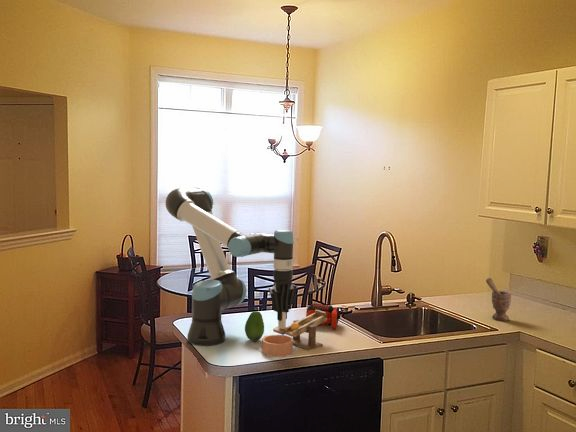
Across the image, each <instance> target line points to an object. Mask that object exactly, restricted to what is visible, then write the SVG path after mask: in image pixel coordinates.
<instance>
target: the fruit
mask: <svg viewBox="0 0 576 432" xmlns="http://www.w3.org/2000/svg"><path fill="white" fill-rule="evenodd" d="M244 331H245V335H246V338H247V339H249V341H252V342H257V341H259V340H261V339H262V337H263V335H264V332H265V323H264V319H263V315H262V314H261V312H260V311H257V310H255V311H251V313H250V314H249V316H248V318H247V319H246V322H245V325H244Z"/></svg>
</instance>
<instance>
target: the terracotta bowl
mask: <svg viewBox="0 0 576 432" xmlns="http://www.w3.org/2000/svg"><path fill="white" fill-rule="evenodd" d="M262 337H263V338H262ZM262 337H261V352H262V354H264V355H266V356H271V357H286V356H289V355H292V353H293V352H294V345H293V339H292V338H293V337H292V336H289V335H286V334H284V335H282V334H269V335H266V336H262Z"/></svg>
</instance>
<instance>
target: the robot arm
mask: <svg viewBox="0 0 576 432" xmlns="http://www.w3.org/2000/svg"><path fill="white" fill-rule="evenodd" d="M164 204H165V208H166V211H167V212H168V213H169V214H170V216H172V217H173V218H175V219H176V220H178V221H180V222H185V223H187V224H189V225H191V226H192V229H193V232H194V235H195V238H196V240H197V242H198V246H199V248H200V251H201V254H202V256H203V260H204V262H205V264H206V268H207V271H208V273H209V275H210V278H209V279H206V280H200V281H198V282H196V283H194V285H193V286H192V293H191V323H190V325H189V326H190V327H189V329H188V333H187V339H186V341H187V342H188V343H189V344H192V345H195V346H215V345H219V344H222V343H224V342H225V340H226V331H225V328H224V326H223V322H222V311H224V310H227V309H230V308H234V307H236V306H237V305H241V303H243V301H244V300H245V298H246V296H247V286H246V283H245V282H244V281H243V279H241V278H240V277H237V275H236V272H235V271H234V270H232V269H230V266H229V264H228V261H227V258H226V256H225V252H224V250H223V248H222V245H223V246H225V247H226V248H228V249H227V250H228V251H229V253H230V255H231V256H233V257H236V258H243V257H246V256H252V255H257V254H261V253H264V254H265V253H267V254H273V276H272V277H273V280H274V282H273V286H271V287H268V292H269V294H270V299H271V303H272V305H271V306H272V310H273V311H274V312H275V313H277V314H276V315H277V321H278V323H277V327H278V328H281V329H284V328H286V326H287V319H288V313H289V312H290V310H292V305H293V303H294V302H293V301H294V295H295V291H296V289H297V284H296V285H295V284H293V281H292V279H293V276H294V275H293V274H294V273H293V266H294V264H293V263H294V242H295V241H294V233H293V231H292V230H289V229H276V230H274V232H273V234H271V233H261V232H251V233H249V235H245V234H244V233H242V232H241V231H239V230H237V229H235V228H234V227H232V226H230V225H229V224H227V223H225V222H224V221H222V220H221V219H219V218H217V217H216V216H213V211H212V210H213V208H214V207H213V205H214V198H213V196H212V195H211V193H210V192H209V191H208V190H206V189H204V188H199V187H191V188H189V187H187V188H186V187H185V188H182V187H181V188H180V187H179V188H175V189H173V190H171V191H170V192H169V193H168V194H167V196H166V198H165V203H164Z"/></svg>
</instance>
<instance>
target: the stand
mask: <svg viewBox="0 0 576 432" xmlns="http://www.w3.org/2000/svg"><path fill="white" fill-rule="evenodd" d="M300 320H301V319H300ZM300 320H299V319H295V320H293V322H292V323H294V322H298V321H300ZM316 333H317V326H315V325H311V326H309V333H308V338H306V337H303V336H302V335H301V334H300V335H298V336H297V337H291V338H292V339H293V346H295V347H299V348H301V349H303V350H306V351H309V350H314V349H317V348H321V347H323V346H324V344H323V343H320V342H318V341H316V338H317V334H316Z"/></svg>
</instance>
